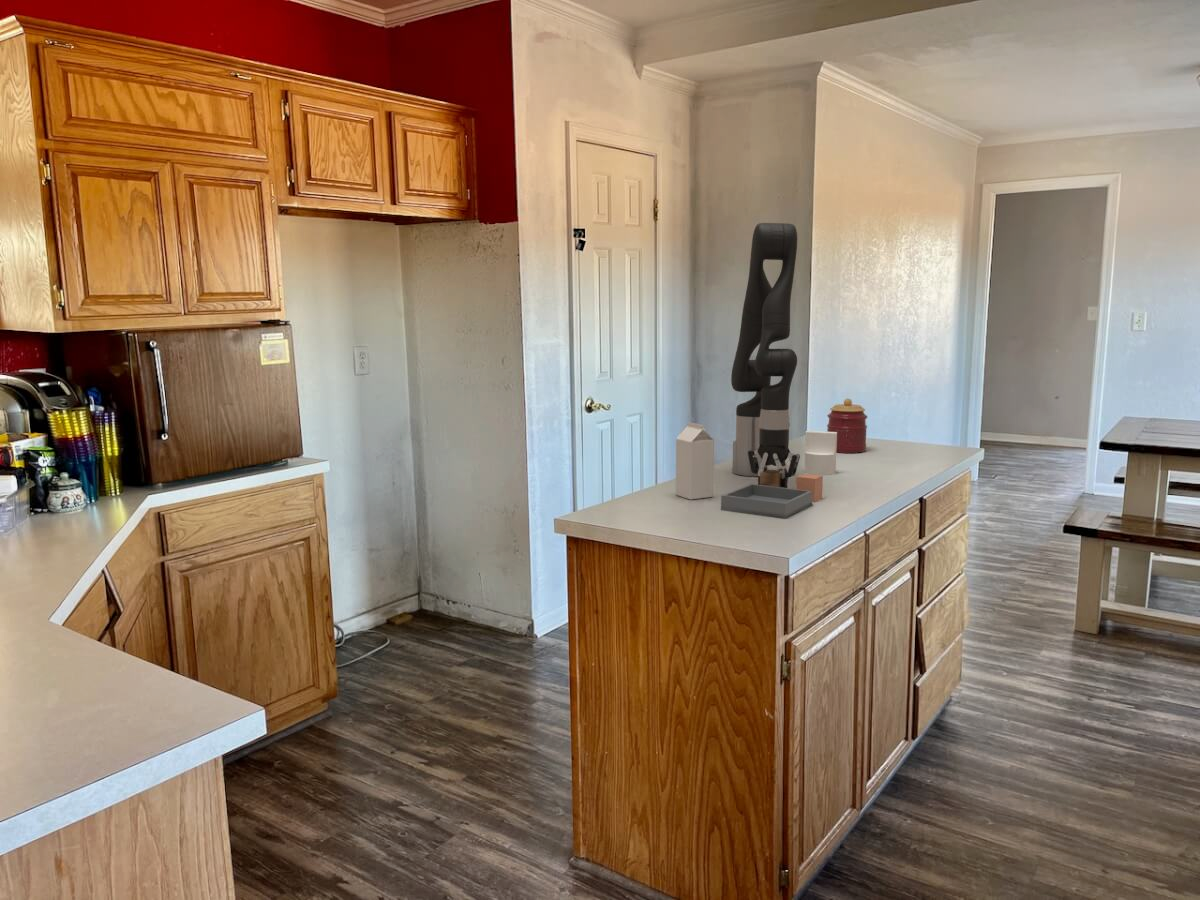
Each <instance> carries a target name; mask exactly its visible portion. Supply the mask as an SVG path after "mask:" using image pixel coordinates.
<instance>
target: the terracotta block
mask: <svg viewBox="0 0 1200 900" xmlns="http://www.w3.org/2000/svg"><path fill="white" fill-rule="evenodd" d="M823 477H824V475H813V474H807V473H802V474H801V475H797V476H796V484H795V486H796V487H795V489H798V490H807V491H813V498H812V503H816V502H818V501H820V500H822V499H823V485H824V484H823V481H824V478H823Z"/></svg>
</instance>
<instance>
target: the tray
mask: <svg viewBox="0 0 1200 900" xmlns="http://www.w3.org/2000/svg"><path fill="white" fill-rule="evenodd" d="M812 498H813V491H807V490H798V489H796V488H789V487H788V488H782V487H773V486H765V485H758V484H756V483H750V484H747V485H744V486H742V487H740V488H737V489H734V490H731V491H729V492H725V493H724V494H722V495H720V510H721V511H722V510H723V511H728V512H729V511H730V512H736V513H743V514H750V515H757V516H766V517H773V518H779V519H788V518H789V517H791V516H794V515H795V514H797V513H799V512H801V511H804V510H805V509H808V508H809V507H811V506H813V502H812Z"/></svg>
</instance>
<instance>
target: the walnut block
mask: <svg viewBox="0 0 1200 900" xmlns="http://www.w3.org/2000/svg"><path fill="white" fill-rule="evenodd" d="M780 479H781V476H780V473H779V471H778V469H776V470H774V469H767V470H766V471H764V472H760V485H765V486H773V487H780Z"/></svg>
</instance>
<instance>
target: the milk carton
mask: <svg viewBox="0 0 1200 900" xmlns="http://www.w3.org/2000/svg"><path fill="white" fill-rule="evenodd" d="M686 424H687V425H686V427H685V428H684V429H683V430H682V431H681V432H680V433H679V434H678V435H677V437H676V438H675V495H676V496H679V497H683V498H685V499H688V500H697V499H703V498H704V499H706V498H713V497H714V483H715V482H714V481H715V479H714V474H715V473H714V469H715V468H714V467H715V439H714V438H713V437H712V436H711V435H710V434H709V433H708V431H707V430H706V429H705V428H704V425H703V424H699V423H693V422H689V421H687V422H686Z"/></svg>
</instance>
